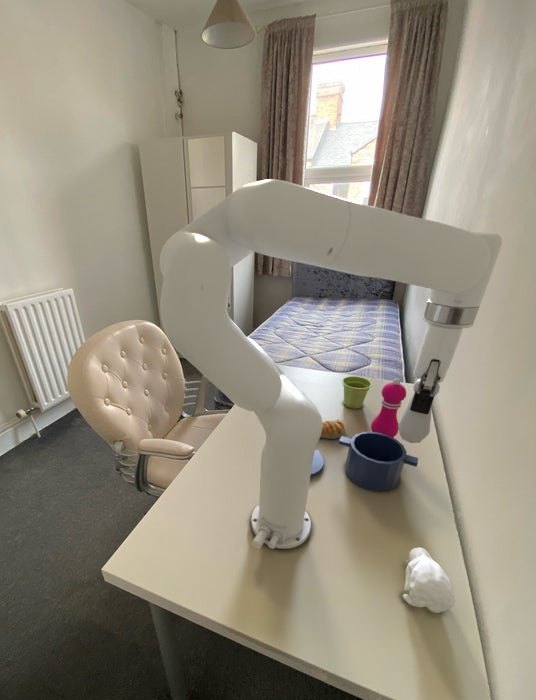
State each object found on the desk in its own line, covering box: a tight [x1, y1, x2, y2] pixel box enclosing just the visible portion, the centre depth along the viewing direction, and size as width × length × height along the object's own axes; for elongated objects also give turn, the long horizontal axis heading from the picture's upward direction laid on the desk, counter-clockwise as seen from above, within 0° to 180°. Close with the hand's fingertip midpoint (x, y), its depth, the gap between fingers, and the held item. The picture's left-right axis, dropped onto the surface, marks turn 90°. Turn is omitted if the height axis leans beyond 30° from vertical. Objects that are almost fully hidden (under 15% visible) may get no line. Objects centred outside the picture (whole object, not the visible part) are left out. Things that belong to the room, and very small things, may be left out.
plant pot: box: [341, 375, 373, 409], centre depth 113 cm, size 9×9×9 cm
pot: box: [338, 431, 419, 492], centre depth 83 cm, size 13×18×8 cm
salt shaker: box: [398, 378, 441, 444], centre depth 66 cm, size 6×6×13 cm
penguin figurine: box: [402, 546, 455, 614], centre depth 57 cm, size 6×8×12 cm
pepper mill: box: [370, 378, 407, 439], centre depth 92 cm, size 7×7×20 cm
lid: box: [310, 448, 325, 477], centre depth 88 cm, size 14×14×6 cm
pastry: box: [319, 419, 347, 440], centre depth 99 cm, size 9×7×4 cm
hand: (420, 405), depth 65 cm, fingers closed on salt shaker, 4 cm apart
